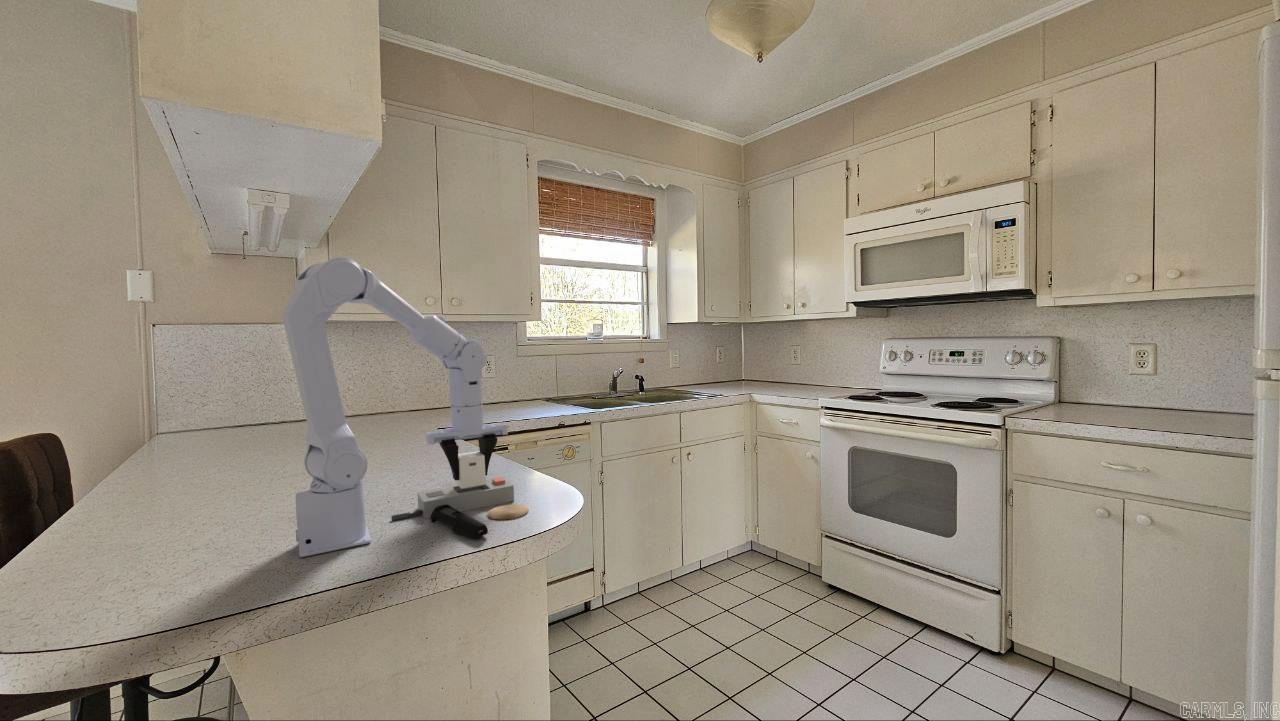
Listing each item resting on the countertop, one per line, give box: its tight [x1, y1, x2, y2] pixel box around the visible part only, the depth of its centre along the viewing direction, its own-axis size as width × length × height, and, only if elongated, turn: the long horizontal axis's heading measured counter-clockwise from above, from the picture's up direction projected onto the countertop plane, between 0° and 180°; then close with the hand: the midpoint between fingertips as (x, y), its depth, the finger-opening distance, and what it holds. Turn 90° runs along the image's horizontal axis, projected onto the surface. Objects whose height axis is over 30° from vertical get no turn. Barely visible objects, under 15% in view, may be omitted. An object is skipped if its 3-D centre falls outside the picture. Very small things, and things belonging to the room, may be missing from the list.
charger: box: [455, 450, 487, 489], centre depth 102 cm, size 4×5×6 cm
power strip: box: [390, 477, 515, 522], centre depth 101 cm, size 21×7×4 cm, turn 121°
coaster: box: [487, 503, 529, 521], centre depth 96 cm, size 7×7×1 cm
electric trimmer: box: [429, 504, 489, 539], centre depth 89 cm, size 4×16×3 cm, turn 45°
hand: (470, 476), depth 102 cm, fingers closed on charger, 4 cm apart
